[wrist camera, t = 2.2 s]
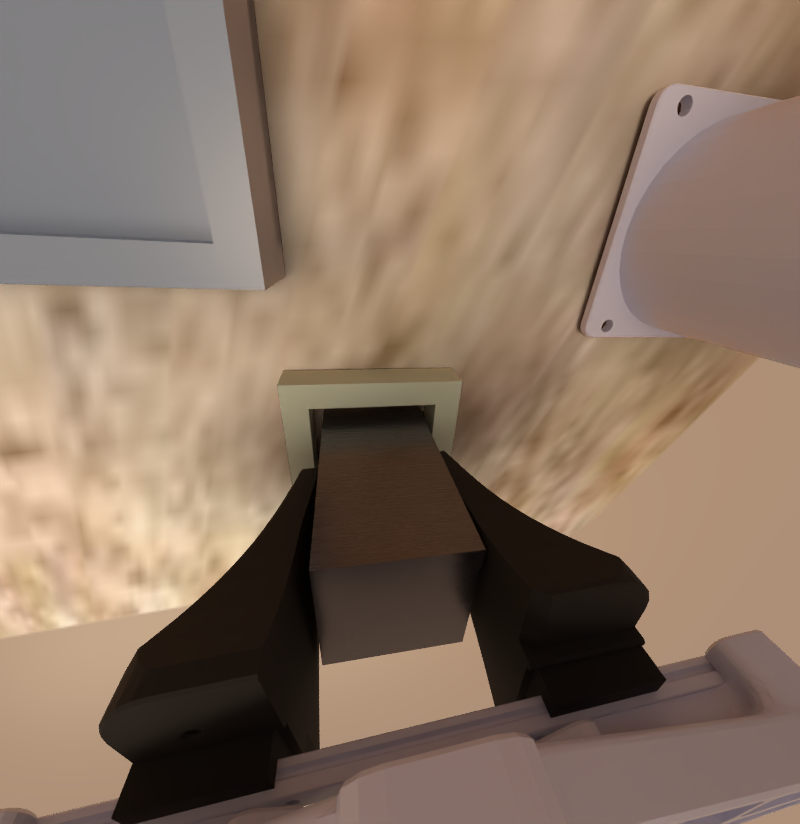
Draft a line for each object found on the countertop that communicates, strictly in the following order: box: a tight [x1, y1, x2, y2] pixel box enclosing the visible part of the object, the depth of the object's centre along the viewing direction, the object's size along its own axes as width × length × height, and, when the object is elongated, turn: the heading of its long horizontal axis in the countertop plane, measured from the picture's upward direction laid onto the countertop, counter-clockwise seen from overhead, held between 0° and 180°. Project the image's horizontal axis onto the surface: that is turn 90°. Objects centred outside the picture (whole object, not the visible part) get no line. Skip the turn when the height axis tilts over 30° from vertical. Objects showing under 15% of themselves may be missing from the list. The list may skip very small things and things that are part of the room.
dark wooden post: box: [309, 405, 486, 665], centre depth 11 cm, size 4×4×8 cm
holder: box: [277, 368, 462, 486], centre depth 14 cm, size 7×7×2 cm
